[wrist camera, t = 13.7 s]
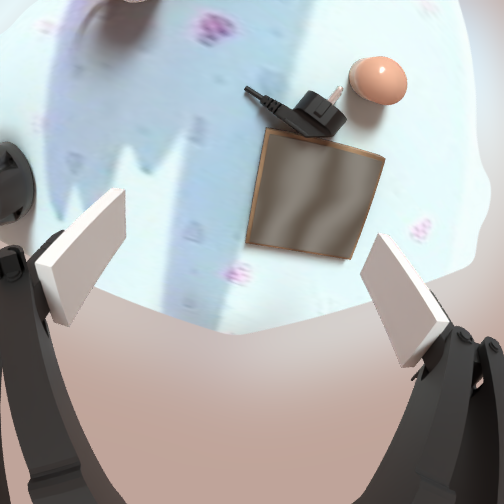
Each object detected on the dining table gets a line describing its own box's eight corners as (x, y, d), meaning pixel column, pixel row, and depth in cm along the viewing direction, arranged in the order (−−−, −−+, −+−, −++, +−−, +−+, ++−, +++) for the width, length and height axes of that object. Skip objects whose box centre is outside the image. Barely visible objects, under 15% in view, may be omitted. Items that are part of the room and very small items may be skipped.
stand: (246, 236, 42) (245, 244, 40) (266, 127, 34) (266, 129, 32) (347, 252, 43) (351, 261, 41) (379, 155, 35) (386, 159, 33)
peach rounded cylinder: (376, 109, 31) (390, 114, 27) (340, 82, 30) (350, 84, 26) (398, 76, 28) (415, 78, 24) (363, 49, 27) (376, 46, 23)
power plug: (235, 88, 28) (322, 149, 28) (274, 40, 25) (363, 99, 26) (247, 97, 33) (321, 151, 34) (281, 55, 30) (356, 108, 31)
